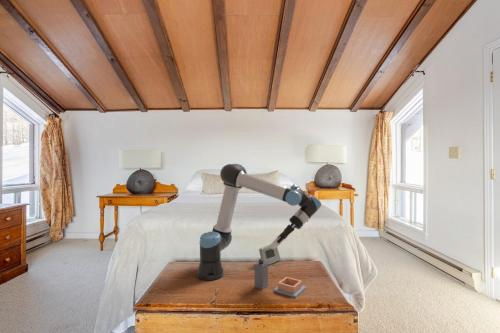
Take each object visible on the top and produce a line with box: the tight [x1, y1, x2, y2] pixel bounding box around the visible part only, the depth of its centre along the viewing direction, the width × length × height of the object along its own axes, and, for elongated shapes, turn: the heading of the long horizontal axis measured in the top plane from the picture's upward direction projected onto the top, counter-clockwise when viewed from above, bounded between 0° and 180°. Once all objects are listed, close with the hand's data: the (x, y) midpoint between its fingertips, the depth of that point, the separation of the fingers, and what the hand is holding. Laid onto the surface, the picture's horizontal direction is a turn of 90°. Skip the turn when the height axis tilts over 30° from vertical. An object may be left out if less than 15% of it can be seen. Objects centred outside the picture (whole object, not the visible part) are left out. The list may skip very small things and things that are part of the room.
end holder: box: [273, 276, 307, 299], centre depth 138 cm, size 12×12×4 cm
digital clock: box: [258, 244, 281, 266], centre depth 177 cm, size 16×9×11 cm, turn 123°
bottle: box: [253, 258, 269, 291], centre depth 142 cm, size 5×5×14 cm
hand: (271, 247), depth 146 cm, fingers open, 13 cm apart
